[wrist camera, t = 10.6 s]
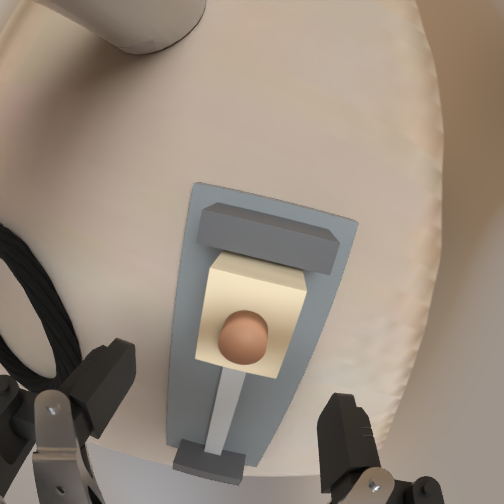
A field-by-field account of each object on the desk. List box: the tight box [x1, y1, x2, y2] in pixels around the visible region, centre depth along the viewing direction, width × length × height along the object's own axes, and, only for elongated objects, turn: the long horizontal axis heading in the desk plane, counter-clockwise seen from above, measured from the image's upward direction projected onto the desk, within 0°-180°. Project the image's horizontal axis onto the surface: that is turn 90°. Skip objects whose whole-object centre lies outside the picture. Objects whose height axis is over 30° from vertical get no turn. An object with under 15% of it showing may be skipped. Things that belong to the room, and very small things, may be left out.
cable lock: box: [0, 223, 81, 394], centre depth 26 cm, size 28×4×30 cm
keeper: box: [195, 250, 307, 379], centre depth 16 cm, size 6×5×7 cm
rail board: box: [167, 182, 359, 485], centre depth 22 cm, size 32×12×6 cm, turn 167°
